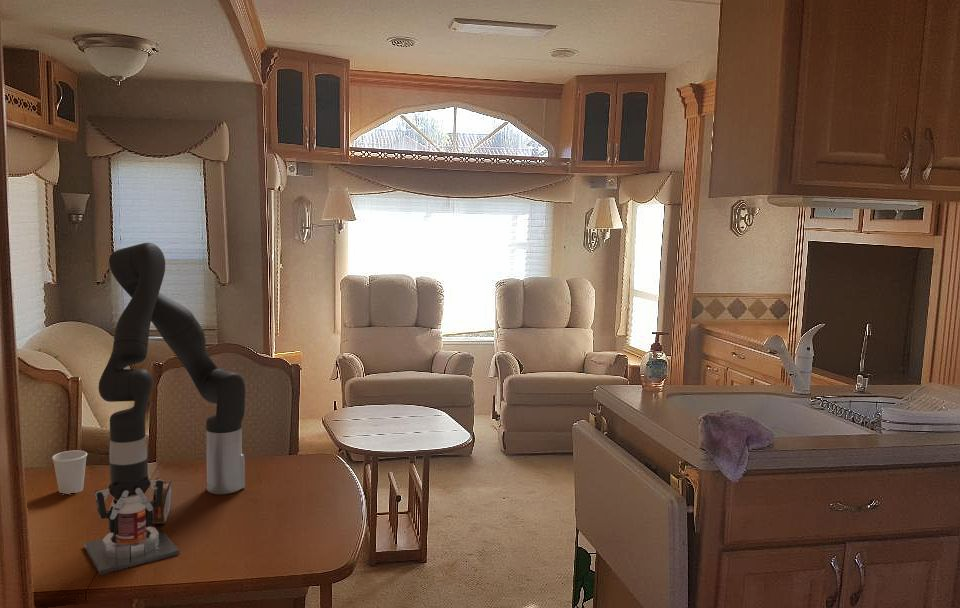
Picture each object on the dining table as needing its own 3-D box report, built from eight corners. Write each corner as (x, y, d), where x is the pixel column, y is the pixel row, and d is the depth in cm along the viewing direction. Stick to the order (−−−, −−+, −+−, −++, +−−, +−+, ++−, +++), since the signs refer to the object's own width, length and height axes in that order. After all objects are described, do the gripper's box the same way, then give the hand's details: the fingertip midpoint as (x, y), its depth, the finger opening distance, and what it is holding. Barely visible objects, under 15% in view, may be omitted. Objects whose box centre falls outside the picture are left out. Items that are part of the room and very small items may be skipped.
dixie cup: (90, 492, 196) (89, 456, 194) (54, 498, 191) (53, 462, 190) (86, 482, 202) (85, 448, 201) (52, 488, 198) (50, 453, 197)
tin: (161, 506, 188) (160, 475, 187) (174, 505, 189) (173, 474, 188) (151, 530, 174) (150, 496, 173) (166, 529, 175) (165, 495, 174)
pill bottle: (143, 545, 160) (141, 498, 159) (113, 548, 159) (111, 500, 158) (149, 533, 166) (148, 487, 165) (120, 535, 165) (118, 489, 164)
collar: (158, 529, 174) (158, 515, 174) (179, 554, 162) (178, 539, 161) (84, 547, 164) (83, 532, 164) (100, 575, 152) (99, 559, 151)
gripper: (158, 447, 168) (160, 516, 170) (88, 459, 159) (91, 531, 161) (167, 456, 162) (169, 527, 164) (96, 468, 153) (99, 544, 155)
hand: (131, 529), depth 162 cm, fingers closed on pill bottle, 6 cm apart
